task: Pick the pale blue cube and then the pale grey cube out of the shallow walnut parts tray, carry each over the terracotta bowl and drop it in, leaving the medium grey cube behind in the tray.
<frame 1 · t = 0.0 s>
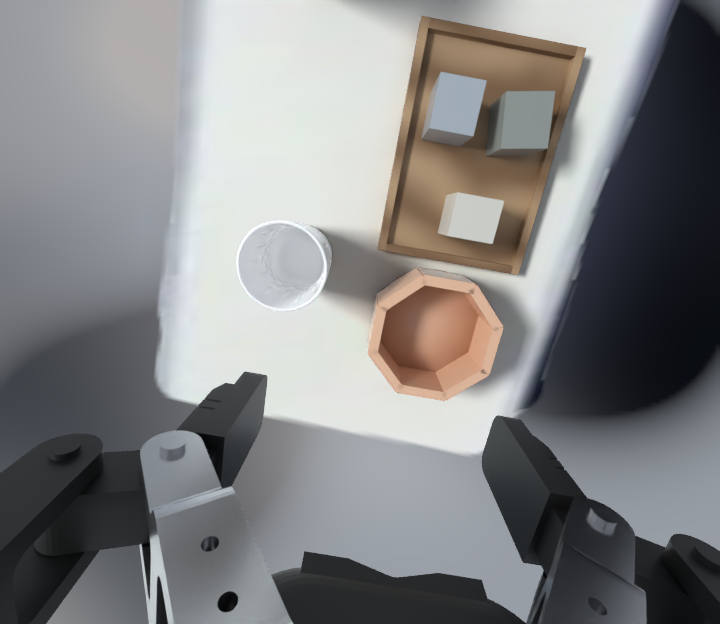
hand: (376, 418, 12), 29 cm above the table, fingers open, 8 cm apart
pale blue cube: (445, 119, 35), point 1 cm above the table, touching walnut tray
medium grey cube: (508, 131, 36), point 1 cm above the table, touching walnut tray
terracotta bowl: (426, 324, 42), on the table
walnut tray: (470, 158, 37), on the table
white cup: (303, 254, 40), on the table
pale grey cube: (462, 218, 38), point 1 cm above the table, touching walnut tray
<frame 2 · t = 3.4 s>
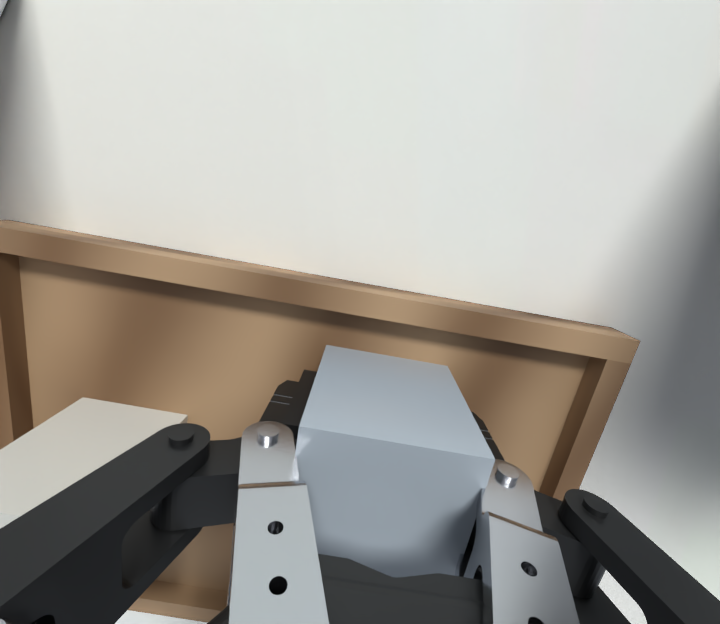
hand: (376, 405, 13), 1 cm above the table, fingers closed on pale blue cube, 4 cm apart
pale blue cube: (376, 404, 13), point 1 cm above the table, touching gripper, walnut tray
walnut tray: (289, 459, 15), on the table
pale grey cube: (135, 454, 14), point 1 cm above the table, touching walnut tray
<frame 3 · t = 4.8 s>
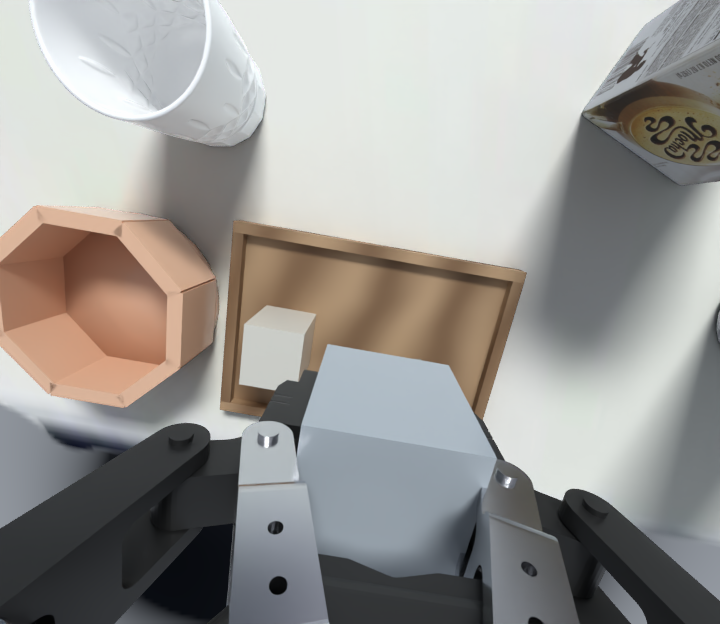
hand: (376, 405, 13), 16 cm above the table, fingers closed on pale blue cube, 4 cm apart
pale blue cube: (377, 403, 13), point 16 cm above the table, touching gripper
coffee box: (659, 109, 24), on the table
terracotta bowl: (140, 295, 29), on the table
walnut tray: (362, 340, 29), on the table
white cup: (220, 96, 25), on the table
pale grey cube: (288, 335, 28), point 1 cm above the table, touching walnut tray
when the fingers open (9 cm above the table, at t = 6.6 s): pale blue cube drops 8 cm, resting on terracotta bowl.
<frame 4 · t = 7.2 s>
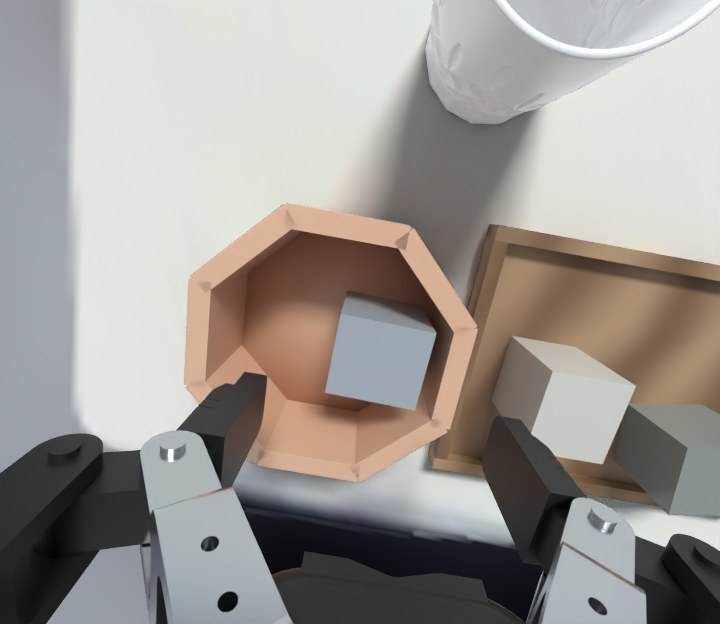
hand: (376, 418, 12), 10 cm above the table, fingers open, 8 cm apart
pale blue cube: (377, 329, 21), point 1 cm above the table, touching terracotta bowl
medium grey cube: (657, 433, 23), point 1 cm above the table, touching walnut tray
terracotta bowl: (337, 321, 22), on the table
walnut tray: (622, 379, 22), on the table
white cup: (490, 54, 18), on the table
pale grey cube: (532, 374, 22), point 1 cm above the table, touching walnut tray
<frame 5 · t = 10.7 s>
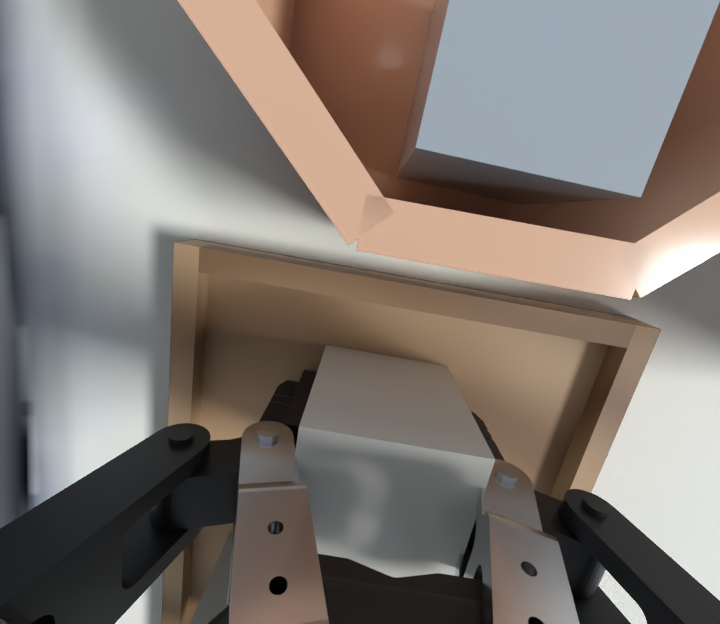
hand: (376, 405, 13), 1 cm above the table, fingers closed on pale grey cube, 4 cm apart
pale blue cube: (479, 113, 10), point 1 cm above the table, touching terracotta bowl
medium grey cube: (282, 575, 15), point 1 cm above the table, touching walnut tray
terracotta bowl: (488, 27, 10), on the table
walnut tray: (361, 520, 15), on the table
pale grey cube: (376, 404, 13), point 1 cm above the table, touching gripper, walnut tray
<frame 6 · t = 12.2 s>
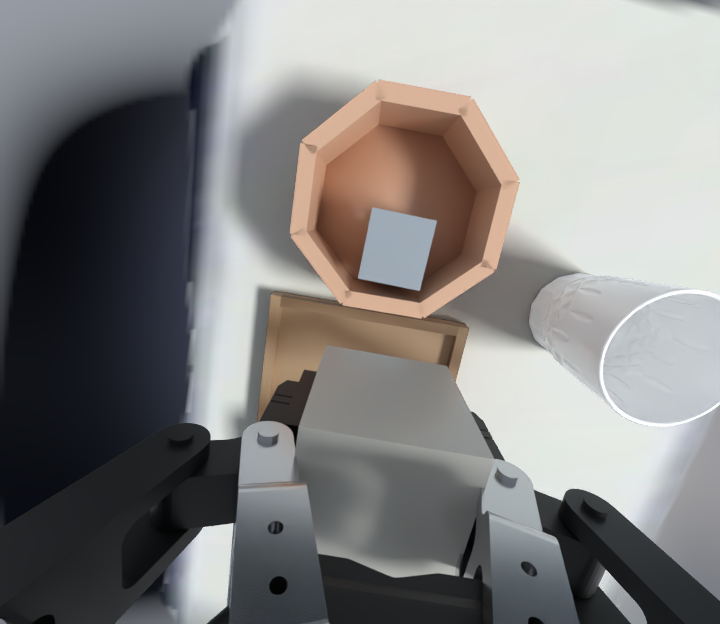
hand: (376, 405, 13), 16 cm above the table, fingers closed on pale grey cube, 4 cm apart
pale blue cube: (391, 245, 27), point 1 cm above the table, touching terracotta bowl
terracotta bowl: (394, 211, 27), on the table
walnut tray: (349, 423, 31), on the table
white cup: (568, 313, 29), on the table
pale grey cube: (376, 404, 13), point 16 cm above the table, touching gripper
when the fingers open (9 cm above the table, at t = 13.7 s): pale grey cube drops 8 cm, resting on terracotta bowl.
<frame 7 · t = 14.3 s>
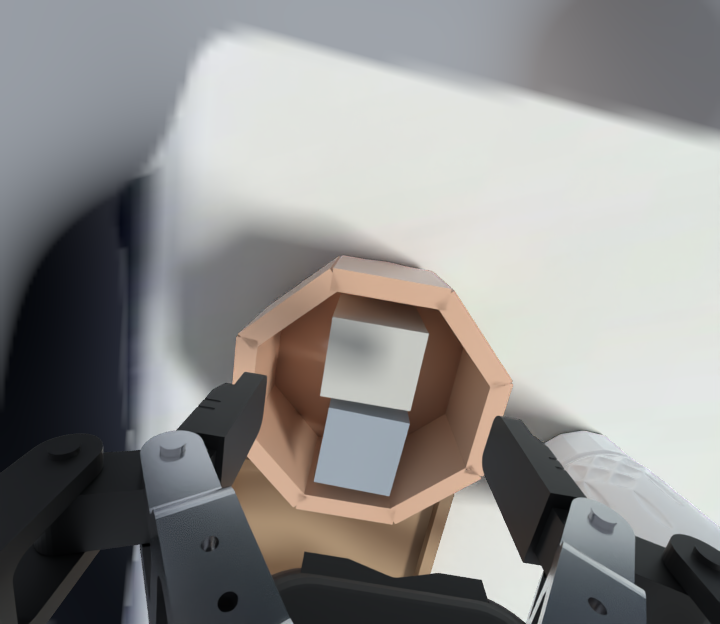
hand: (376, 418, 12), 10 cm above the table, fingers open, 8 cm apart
pale blue cube: (362, 402, 22), point 1 cm above the table, touching terracotta bowl
terracotta bowl: (366, 361, 23), on the table
walnut tray: (318, 576, 28), on the table
white cup: (571, 469, 25), on the table
pale grey cube: (372, 331, 21), point 1 cm above the table, touching terracotta bowl
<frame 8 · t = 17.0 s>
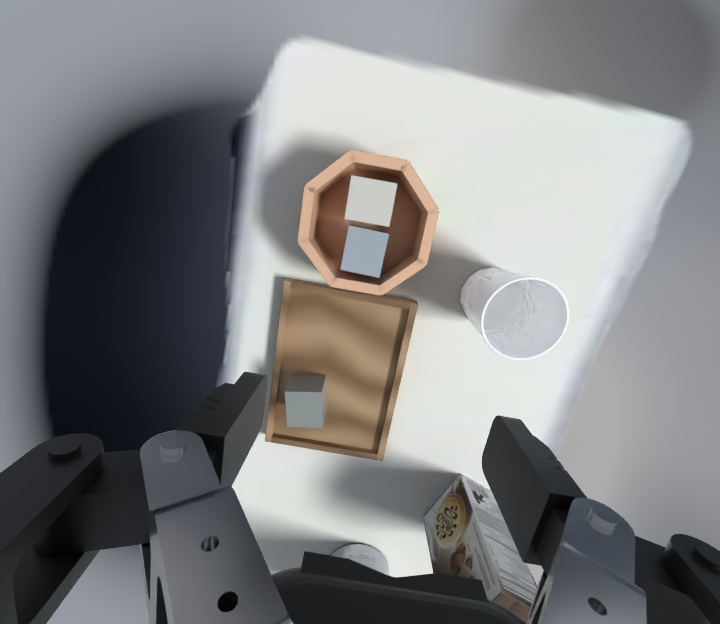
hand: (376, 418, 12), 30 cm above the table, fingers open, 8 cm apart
pale blue cube: (365, 247, 40), point 1 cm above the table, touching terracotta bowl
coffee box: (458, 503, 50), on the table
medium grey cube: (310, 391, 45), point 1 cm above the table, touching walnut tray
terracotta bowl: (367, 224, 40), on the table
walnut tray: (337, 372, 45), on the table
white cup: (488, 295, 42), on the table
pale grey cube: (370, 203, 38), point 1 cm above the table, touching terracotta bowl
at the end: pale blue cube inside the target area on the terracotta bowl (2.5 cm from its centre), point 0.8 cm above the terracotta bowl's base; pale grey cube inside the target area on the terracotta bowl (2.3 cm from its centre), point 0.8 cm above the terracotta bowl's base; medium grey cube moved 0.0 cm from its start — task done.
